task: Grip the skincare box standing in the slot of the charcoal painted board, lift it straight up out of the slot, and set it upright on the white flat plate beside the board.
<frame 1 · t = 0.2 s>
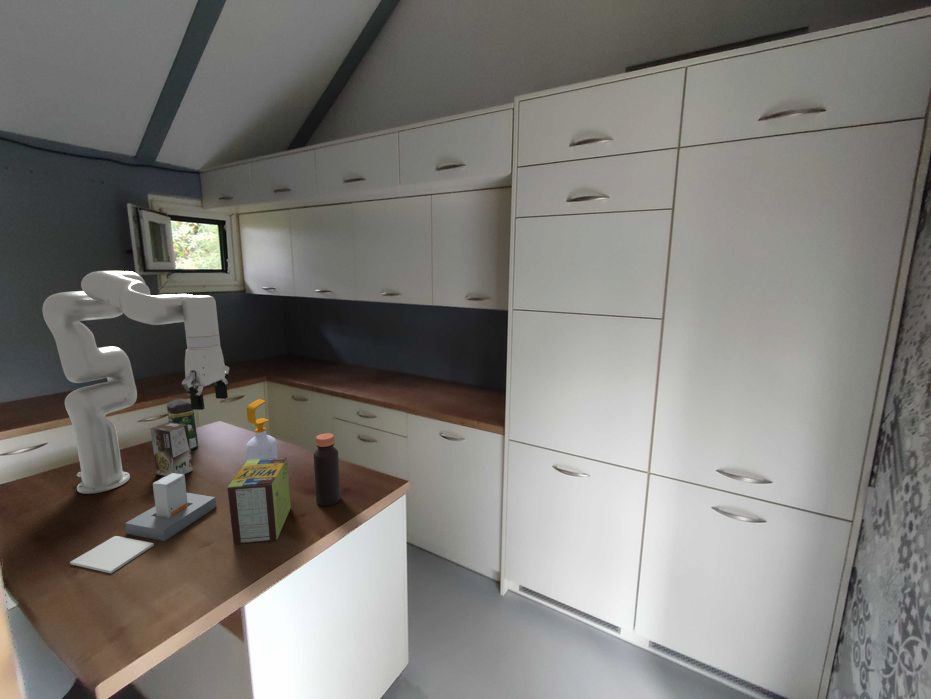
hand: (210, 403, 115), 30 cm above the table, fingers open, 9 cm apart
protein box: (264, 525, 112), on the table
coffee jar: (185, 447, 160), on the table
vinegar: (328, 501, 124), on the table
soap bottle: (263, 471, 141), on the table
white flat plate: (113, 554, 99), on the table
slotted board: (174, 519, 113), on the table
coffee box: (175, 472, 140), on the table
skincare box: (174, 520, 114), resting in slotted board
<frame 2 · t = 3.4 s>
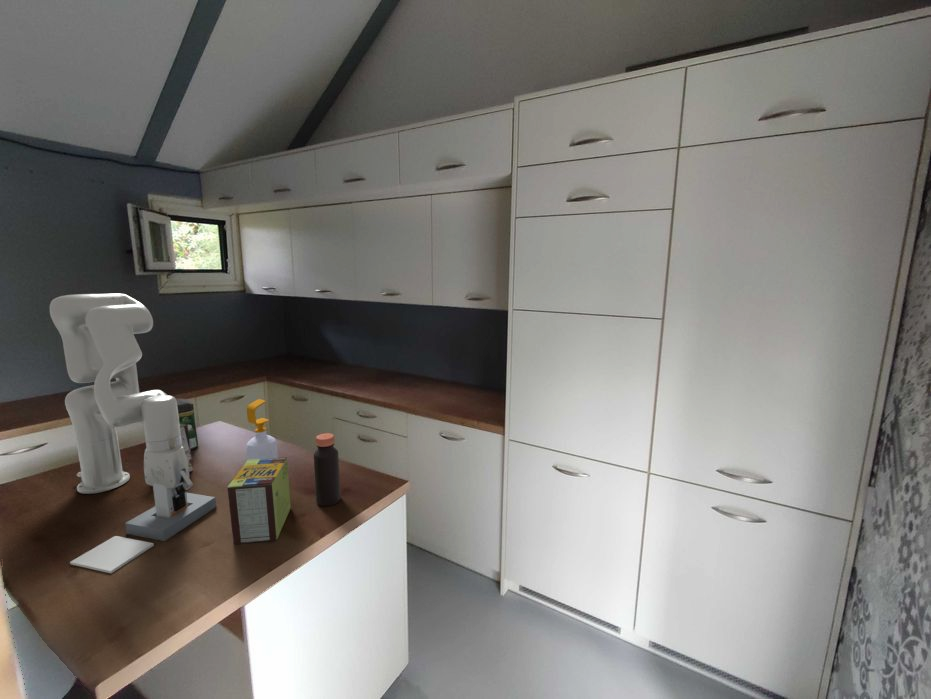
hand: (172, 506, 113), 4 cm above the table, fingers closed on skincare box, 4 cm apart
skincare box: (174, 520, 114), resting in slotted board, touching gripper
everything else where it was.
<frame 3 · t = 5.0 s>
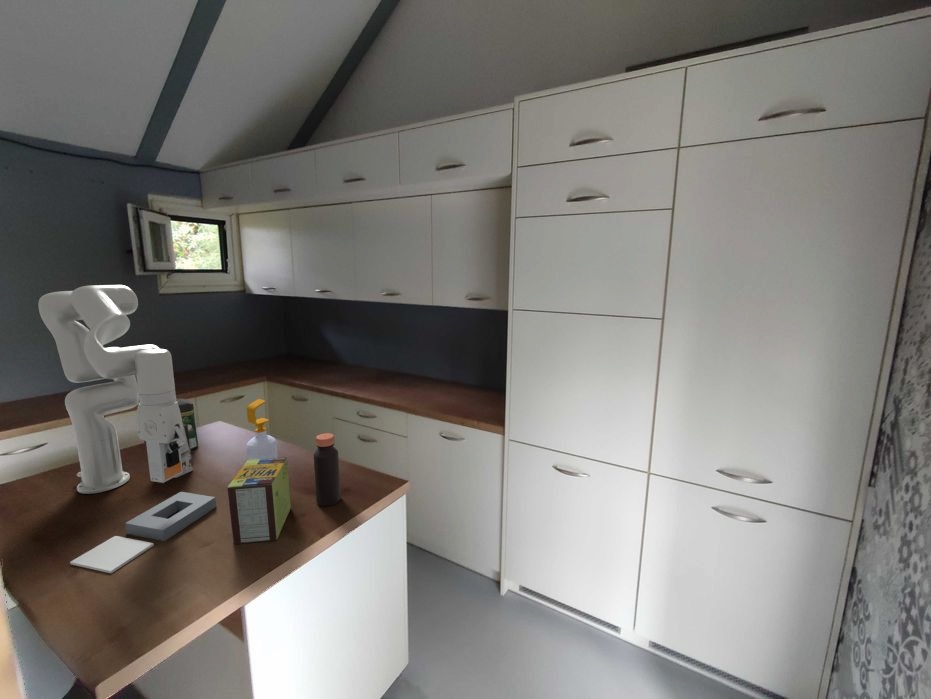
hand: (165, 463, 111), 16 cm above the table, fingers closed on skincare box, 4 cm apart
skincare box: (167, 477, 112), point 12 cm above the table, touching gripper
everything else where it was.
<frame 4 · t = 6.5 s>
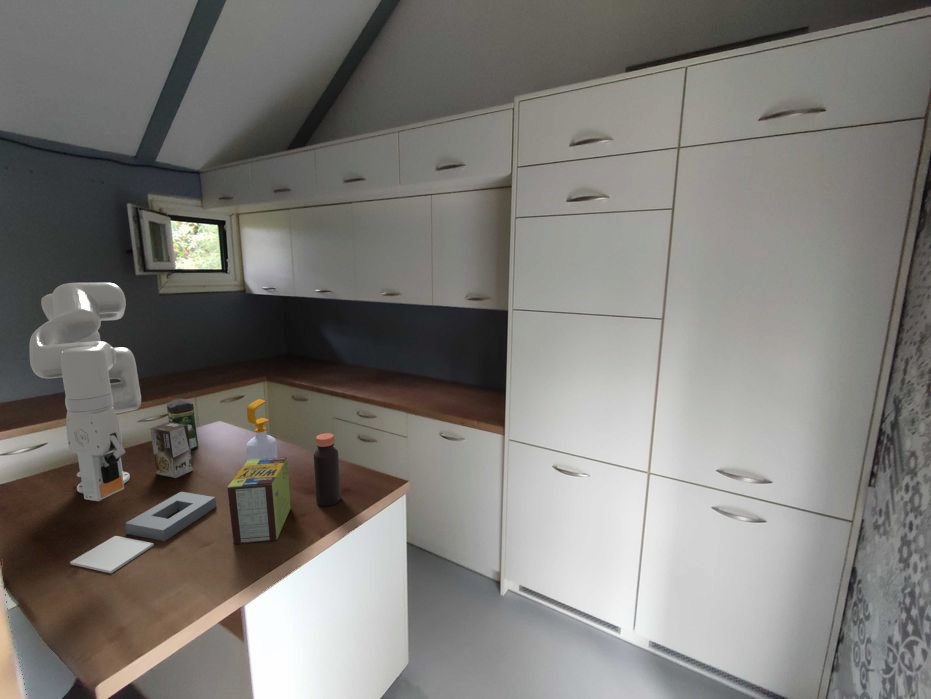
hand: (102, 478, 96), 19 cm above the table, fingers closed on skincare box, 4 cm apart
skincare box: (105, 494, 97), point 15 cm above the table, touching gripper
everything else where it was.
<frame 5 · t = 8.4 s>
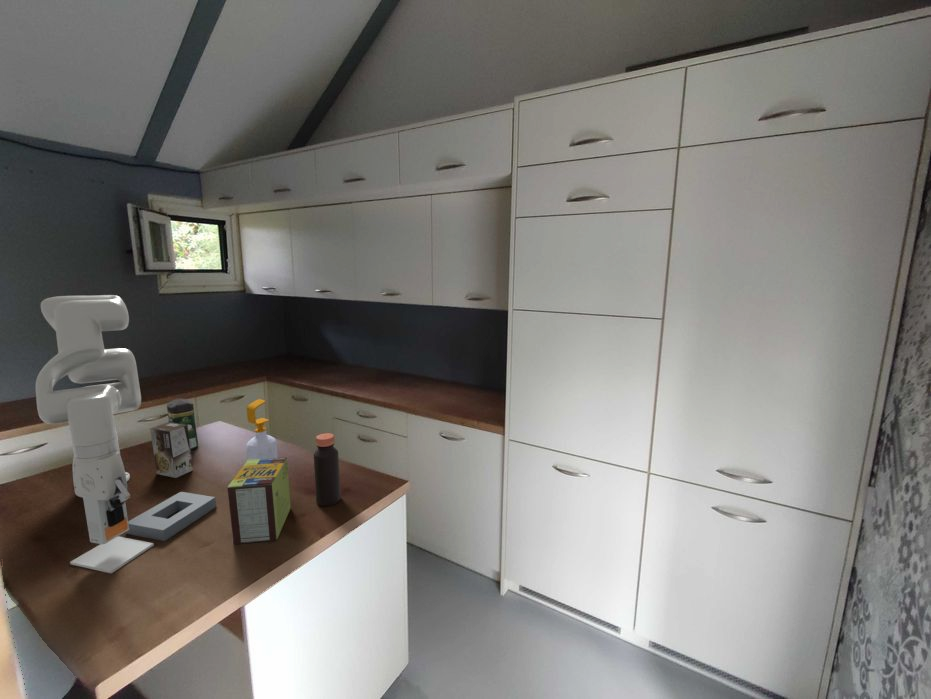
hand: (108, 521, 98), 9 cm above the table, fingers closed on skincare box, 4 cm apart
skincare box: (111, 536, 98), point 5 cm above the table, touching gripper
everything else where it was.
when the fingers open (6 cm above the table, at t = 9.8 s): skincare box drops 1 cm, resting on white flat plate.
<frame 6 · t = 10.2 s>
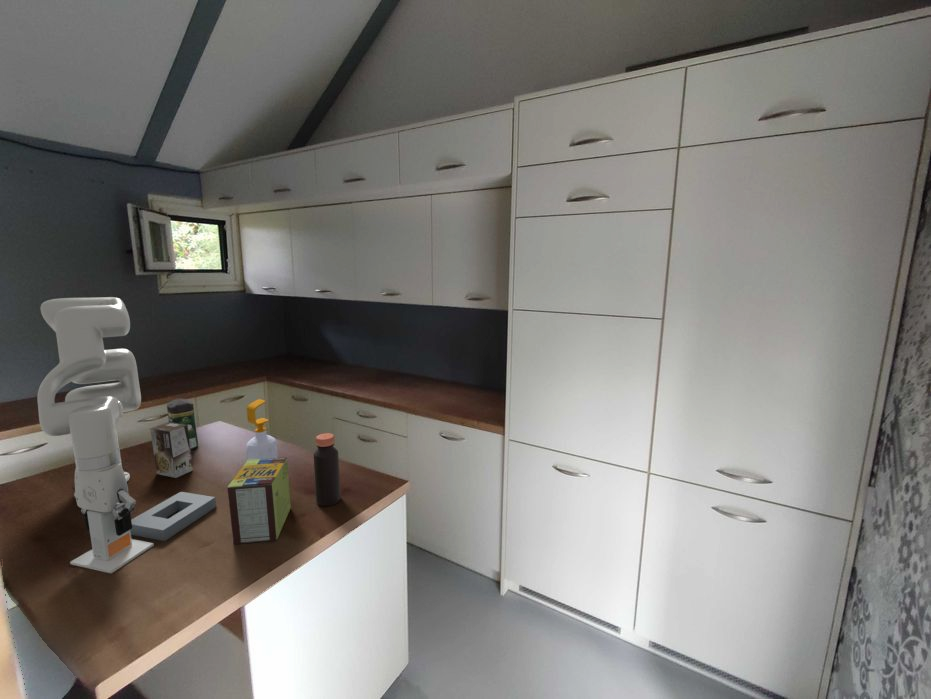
hand: (109, 528, 98), 7 cm above the table, fingers open, 8 cm apart
skincare box: (114, 552, 99), resting on white flat plate
everything else where it was.
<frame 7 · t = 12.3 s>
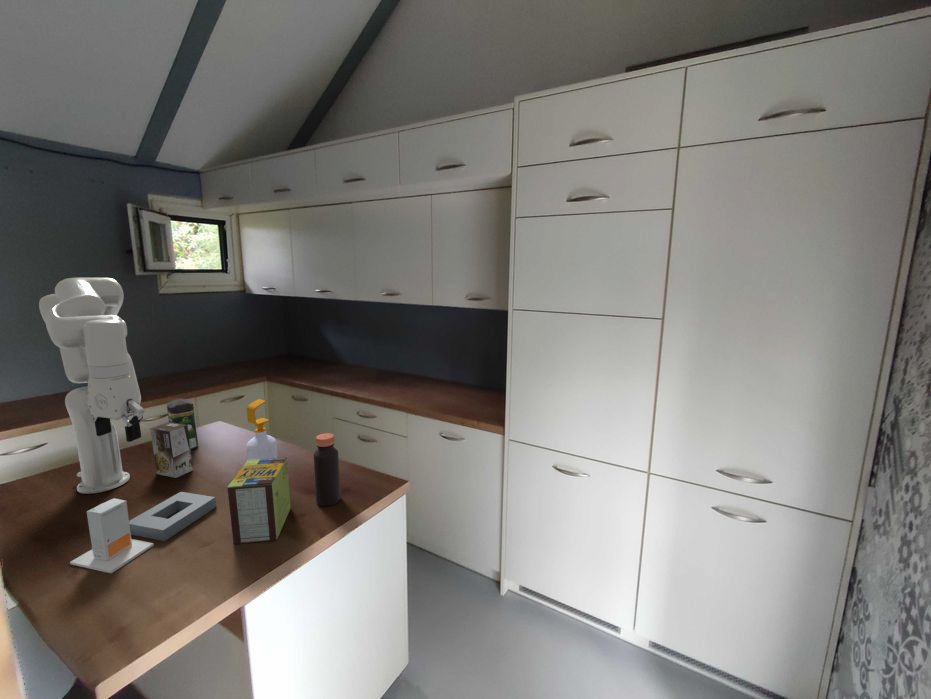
hand: (119, 436, 105), 25 cm above the table, fingers open, 9 cm apart
nothing on the table moved.
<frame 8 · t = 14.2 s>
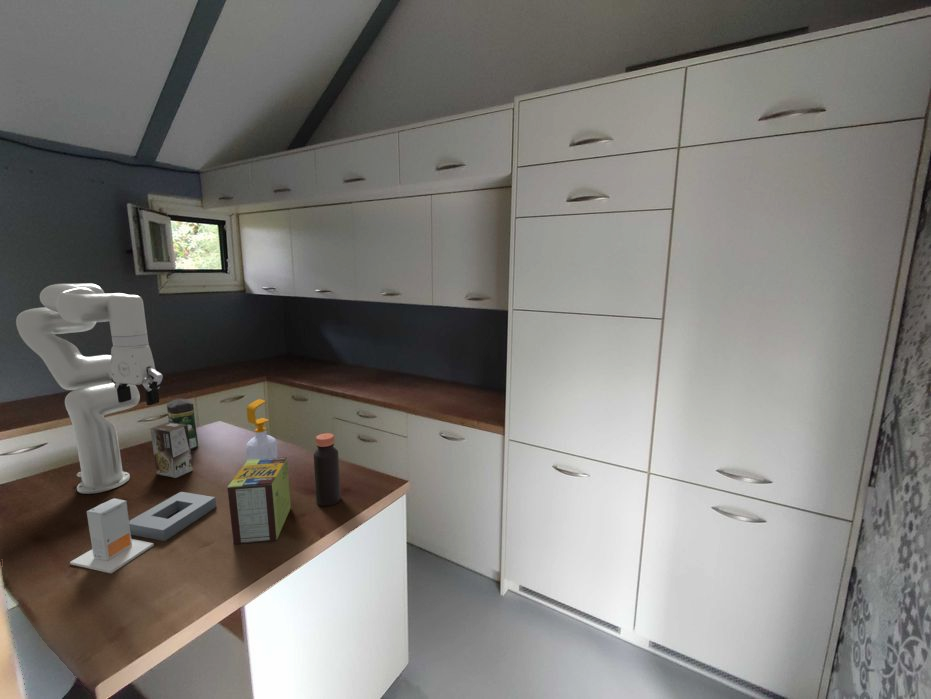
hand: (139, 402, 116), 30 cm above the table, fingers open, 9 cm apart
nothing on the table moved.
at the end: skincare box inside the target area on the white flat plate (0.2 cm from its centre), point 0.4 cm above the white flat plate's base; skincare box tilted 0°; the gripper is holding nothing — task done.
